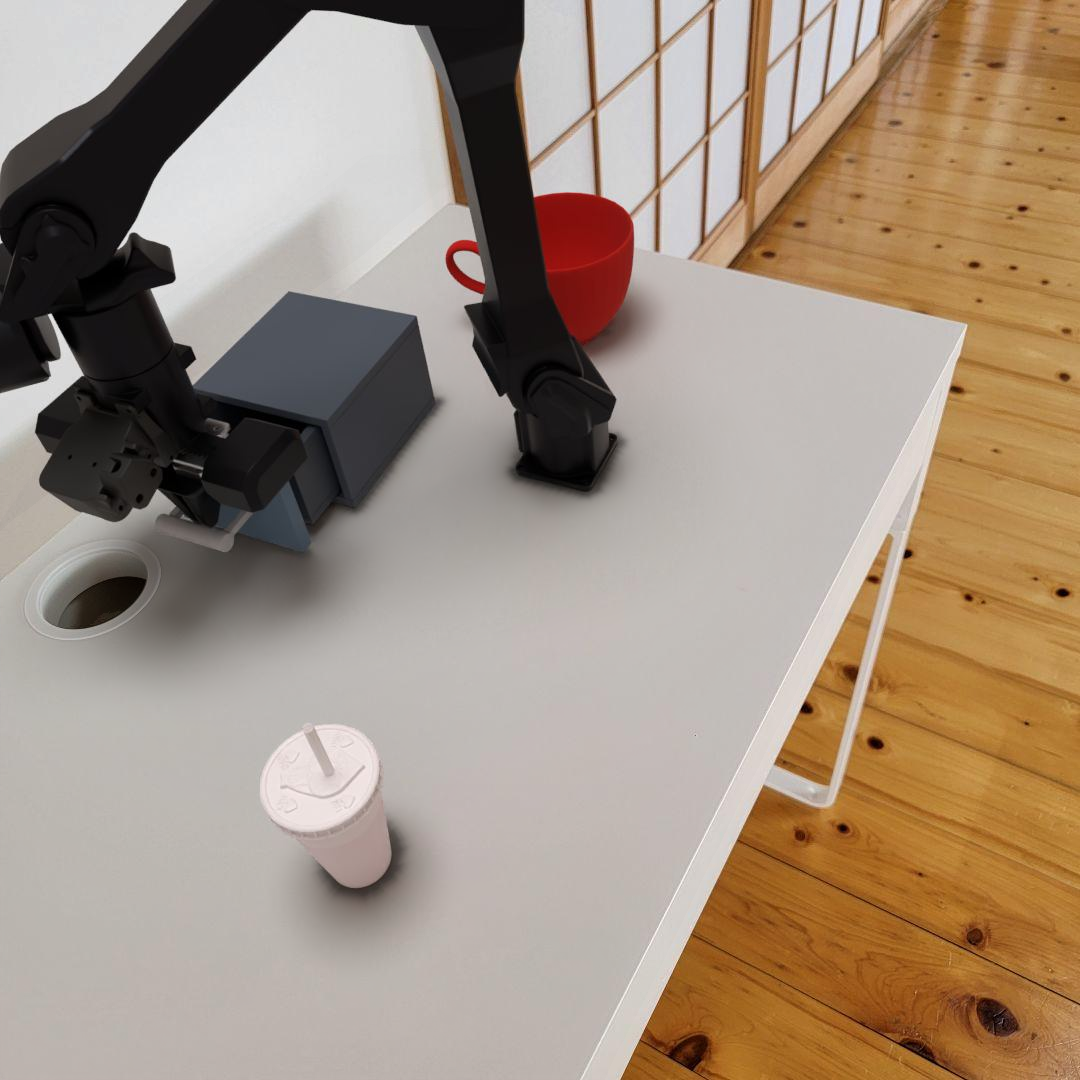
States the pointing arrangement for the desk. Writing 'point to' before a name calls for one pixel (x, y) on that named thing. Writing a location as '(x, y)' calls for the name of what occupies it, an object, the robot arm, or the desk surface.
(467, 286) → the ceramic cup
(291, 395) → the dispenser
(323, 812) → the smoothie
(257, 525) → the drawer
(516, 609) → the desk surface
